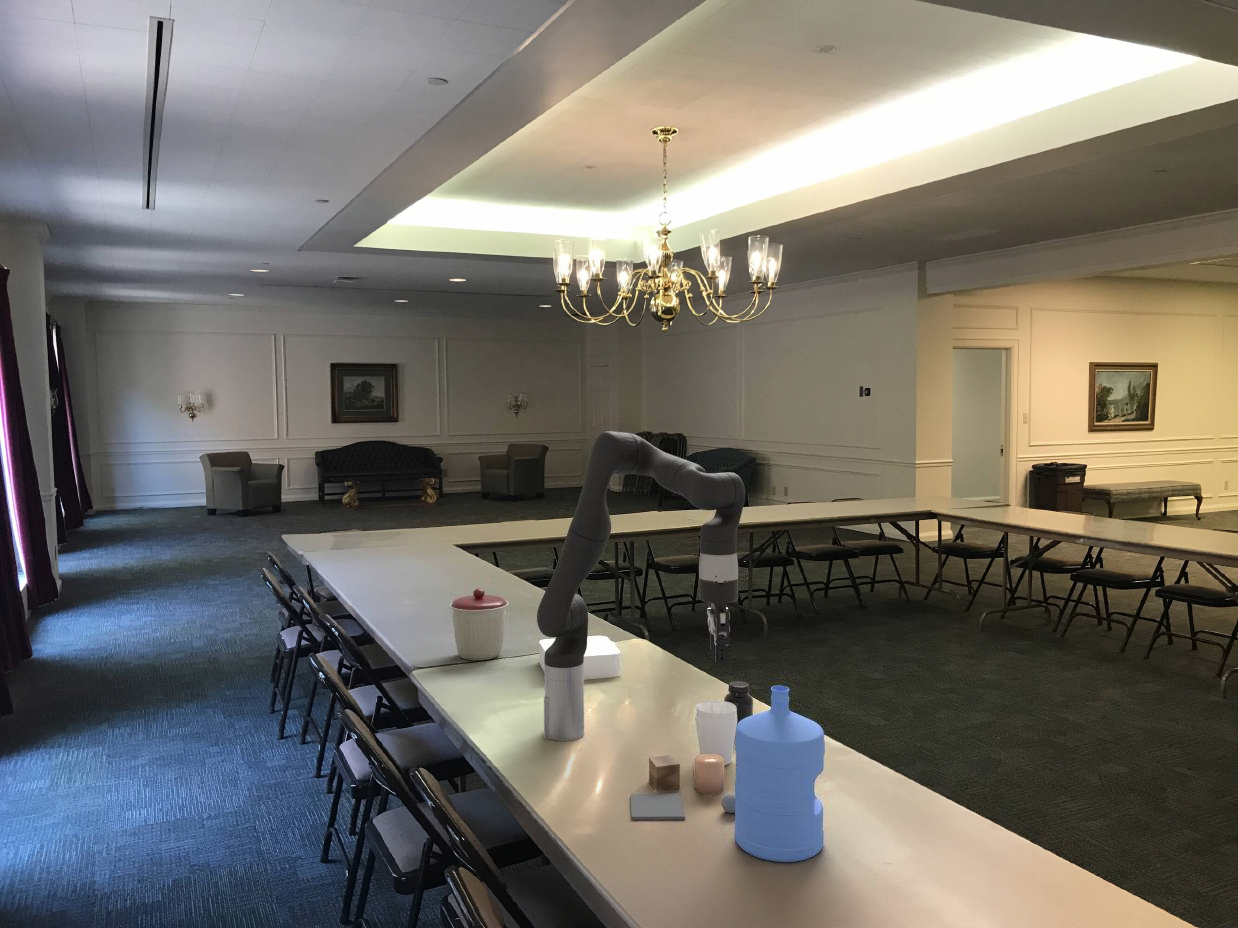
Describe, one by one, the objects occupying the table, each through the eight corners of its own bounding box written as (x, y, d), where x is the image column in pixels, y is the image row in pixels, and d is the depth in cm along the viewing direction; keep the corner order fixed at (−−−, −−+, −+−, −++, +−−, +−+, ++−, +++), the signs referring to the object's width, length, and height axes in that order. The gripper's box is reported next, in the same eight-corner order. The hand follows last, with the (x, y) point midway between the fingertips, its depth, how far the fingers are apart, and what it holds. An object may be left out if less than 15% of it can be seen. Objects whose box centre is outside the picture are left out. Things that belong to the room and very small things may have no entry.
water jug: (765, 872, 152) (766, 708, 150) (718, 831, 166) (719, 681, 164) (841, 853, 158) (844, 695, 156) (790, 815, 173) (791, 670, 171)
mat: (631, 819, 171) (631, 816, 171) (630, 796, 181) (630, 793, 181) (684, 819, 171) (684, 816, 171) (681, 796, 181) (681, 793, 181)
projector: (627, 676, 260) (627, 653, 260) (549, 682, 255) (549, 658, 255) (610, 656, 281) (610, 634, 280) (538, 662, 275) (538, 639, 275)
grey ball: (722, 816, 172) (722, 797, 172) (720, 807, 176) (720, 789, 176) (741, 816, 172) (741, 797, 172) (738, 807, 176) (739, 789, 176)
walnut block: (656, 790, 184) (656, 766, 184) (649, 780, 189) (649, 757, 188) (679, 787, 185) (679, 763, 185) (671, 777, 190) (672, 754, 190)
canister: (443, 652, 285) (442, 585, 284) (499, 645, 293) (498, 580, 291) (458, 667, 269) (457, 597, 268) (517, 660, 277) (516, 591, 275)
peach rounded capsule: (695, 794, 182) (695, 765, 182) (693, 781, 188) (693, 753, 188) (725, 794, 182) (725, 765, 182) (722, 781, 188) (722, 753, 188)
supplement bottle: (751, 739, 211) (752, 689, 210) (722, 737, 212) (722, 687, 212) (753, 729, 218) (754, 680, 217) (724, 727, 219) (725, 678, 218)
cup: (710, 771, 193) (710, 716, 192) (687, 757, 201) (687, 703, 200) (745, 763, 197) (745, 709, 196) (721, 749, 205) (722, 697, 204)
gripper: (695, 569, 183) (695, 648, 184) (702, 583, 169) (703, 668, 170) (732, 569, 183) (733, 648, 184) (743, 582, 169) (743, 668, 170)
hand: (718, 658), depth 177 cm, fingers open, 8 cm apart
